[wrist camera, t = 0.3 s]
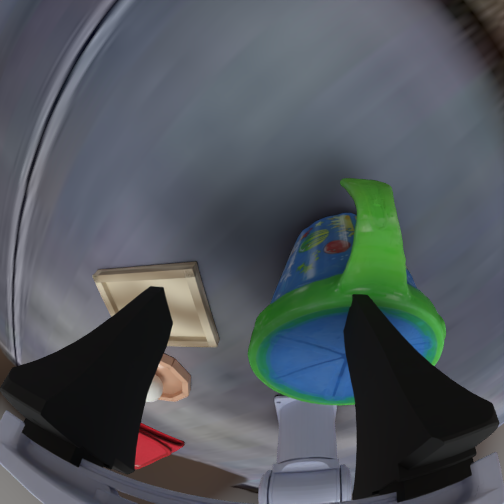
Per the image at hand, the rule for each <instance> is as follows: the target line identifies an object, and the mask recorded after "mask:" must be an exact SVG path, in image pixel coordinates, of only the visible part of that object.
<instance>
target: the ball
mask: <svg viewBox="0 0 504 504" xmlns="http://www.w3.org/2000/svg"><path fill="white" fill-rule="evenodd" d="M162 392H163V384H162V381H161V379H160V378H159V377H158V376H157V375H156V374H155V376H154V378H153V380H152V383H151V385H150V388H149V391H148V394H147V398H146V402H153V401H156V400H157V399H159V398H160V396H161V395H162Z"/></svg>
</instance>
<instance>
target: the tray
mask: <svg viewBox="0 0 504 504" xmlns="http://www.w3.org/2000/svg"><path fill="white" fill-rule="evenodd" d="M93 279H94V281H95V283H96V285H97V288H98V290H99V292H100V294H101V296H102V298H103V300H104V303H105V305H106V307H107V309H108V311H109V313H110V315H111V317H112V316H113V315H115V314H116V313H117V312H118V311H120V310H121V309H122V308H123V307H125V306H126V305H127V304H128V303H129V302H131V301H132V300H133V299H134V298H136V297H137V296H138V295H139V294H141V293H142V292H143V291H144V290H146V289H147V288H149V287H150V286H156V287H164V291H165V295H166V299H167V303H168V306H169V310H170V314H171V317H172V321H173V326H172V330H171V334H170V337H169V341H168V344H167V346H181V347H217V346H218V342H219V336H218V333H217V330H216V326H215V323H214V320H213V317H212V314H211V310H210V307H209V304H208V300H207V297H206V294H205V290H204V287H203V283H202V280H201V276H200V273H199V269H198V266H197V262H184V263H172V264H161V265H149V266H137V267H125V268H112V269H100V270H97V271H96V273H95V274H94V275H93Z"/></svg>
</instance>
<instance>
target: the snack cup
mask: <svg viewBox="0 0 504 504" xmlns="http://www.w3.org/2000/svg"><path fill="white" fill-rule="evenodd" d="M340 184H341V186H343V187H344V188H345V189H346V190H347V192H348V193H349V194H350V196H351V197H352V198H353V200H354V202H355V206H356V209H357V215H355V214H352V213H341V214H339V215H333V216H328V217H325V218H322V219H320V220H318V221H315V222H314V223H313V224H312V225H310V226H309V227H308V228H306V229H304V230H303V231H302V232H301V234H300V235H299V236H298V238H297V241H296V243H295V245H294V247H293V249H292V251H291V254H290V256H289V259H288V261H287V264H286V266H285V269H284V271H283V273H282V276H281V278H280V281H279V283H278V285H277V288H276V290H275V292H274V295H273V298H272V301H271V303H270V305H269V306H267V307H266V308H265V309H264V310H263V311H262V312H261V313H260V314H259V316H258V317H257V319H256V322H255V327H254V330H253V333H252V336H251V341H250V345H249V349H248V358H249V363H250V366H251V368H252V370H253V372H254V373H255V375H256V376H257V377H258V378H259V379H260V380H261V381H262V382H263V383H264V384H266V385H267V386H268V387H270V388H271V389H273V390H274V391H276V392H278V393H280V394H282V395H285V396H287V397H289V398H292V399H296V400H299V401H303V402H308V403H314V404H321V405H354V404H355V399H354V394H353V389H352V383H351V378H350V374H349V369H348V364H347V359H346V354H345V345H344V333H343V330H344V327H345V323H346V319H347V315H348V311H349V308H350V307H351V304H352V295H353V294H365V295H368V296H369V297H370V298H371V299H372V300H373V302H374V303H375V304H376V305H377V306H378V308H379V309H380V310H381V311H382V313H383V314H384V315H385V316H386V317H387V319H388V320H389V321H390V322H391V323H392V324H393V326H394V327H395V328H396V329H397V330H398V331H399V332H400V333H401V335H402V336H403V337H404V338H405V339H406V340H407V341H408V342H409V343H410V344H411V345H412V346H413V347H414V348H415V349H416V350H417V351H418V352H419V353H420V354H421V355H422V356H423V357H424V358H426V359H427V360H428V361H429V362H430V363H431V364H432V365H433V366H435V364H436V363H437V361H438V360H439V358H440V356H441V353H442V350H443V346H444V339H445V336H446V327H445V323H444V320H443V319H442V317H441V316H440V315H439V314H438V313H437V311H436V309H435V307H434V305H433V304H432V302H431V301H430V300H429V299H428V298H427V297H426V296H425V295H424V294H423V293H422V292H421V291H420V290H418V289H417V287H416V285H415V283H414V281H413V278H412V276H411V274H410V272H409V270H408V269H407V267H406V265H405V261H406V258H405V255H404V251H403V241H402V235H401V230H400V225H399V221H398V218H397V212H396V208H395V204H394V198H393V191H392V187H391V186H390V185H388V184H386V183H383V182H379V181H375V180H366V179H354V178H345V179H342V180H341V181H340Z"/></svg>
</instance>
